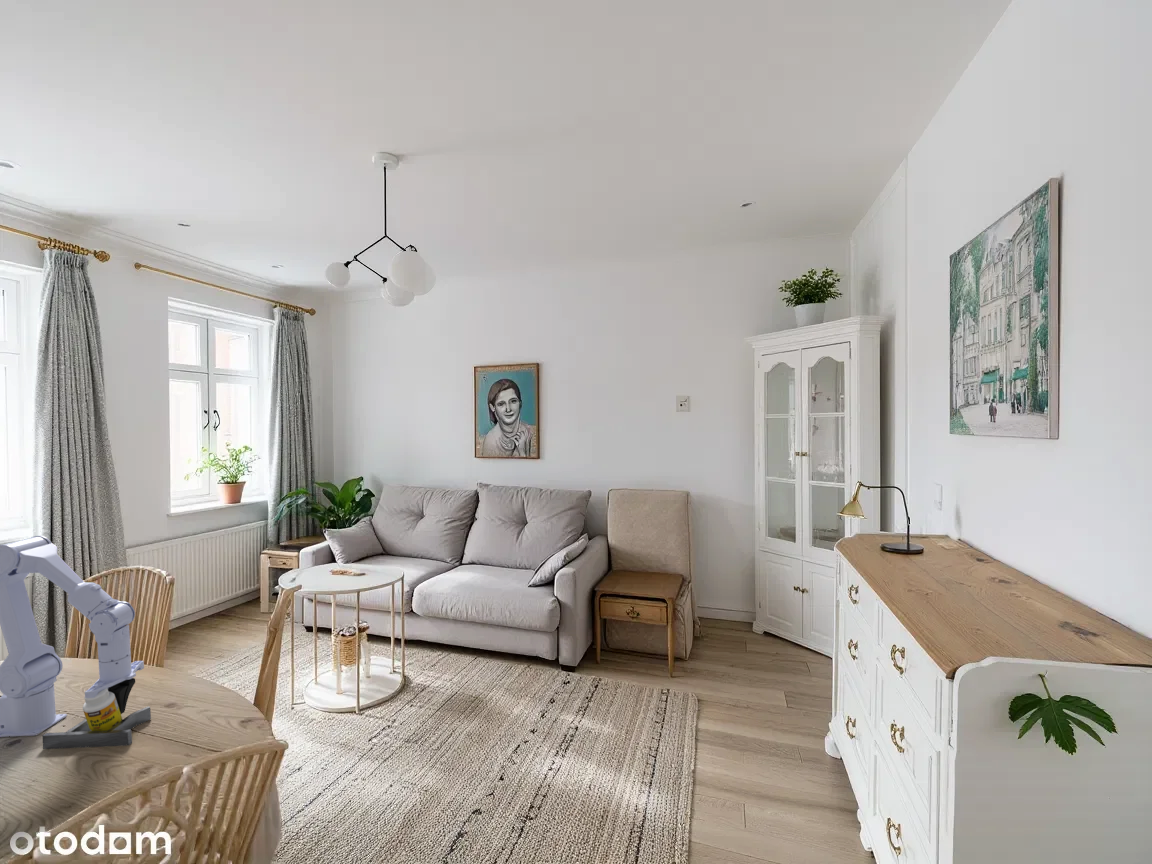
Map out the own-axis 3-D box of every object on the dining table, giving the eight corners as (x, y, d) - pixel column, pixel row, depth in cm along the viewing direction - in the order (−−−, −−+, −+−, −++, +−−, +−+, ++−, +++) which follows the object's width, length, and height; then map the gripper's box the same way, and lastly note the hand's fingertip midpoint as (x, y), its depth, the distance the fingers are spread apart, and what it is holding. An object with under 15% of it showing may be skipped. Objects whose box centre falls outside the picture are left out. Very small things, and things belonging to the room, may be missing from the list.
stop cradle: (43, 749, 117) (42, 735, 117) (84, 721, 128) (84, 708, 128) (128, 745, 118) (127, 732, 118) (163, 717, 129) (162, 705, 128)
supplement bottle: (91, 743, 120) (77, 706, 116) (92, 726, 124) (80, 691, 121) (123, 730, 123) (111, 694, 120) (124, 714, 127) (112, 679, 124)
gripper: (106, 671, 119) (110, 731, 119) (155, 642, 133) (158, 696, 134) (73, 672, 118) (77, 732, 119) (125, 643, 133) (128, 697, 134)
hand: (117, 713), depth 126 cm, fingers closed
